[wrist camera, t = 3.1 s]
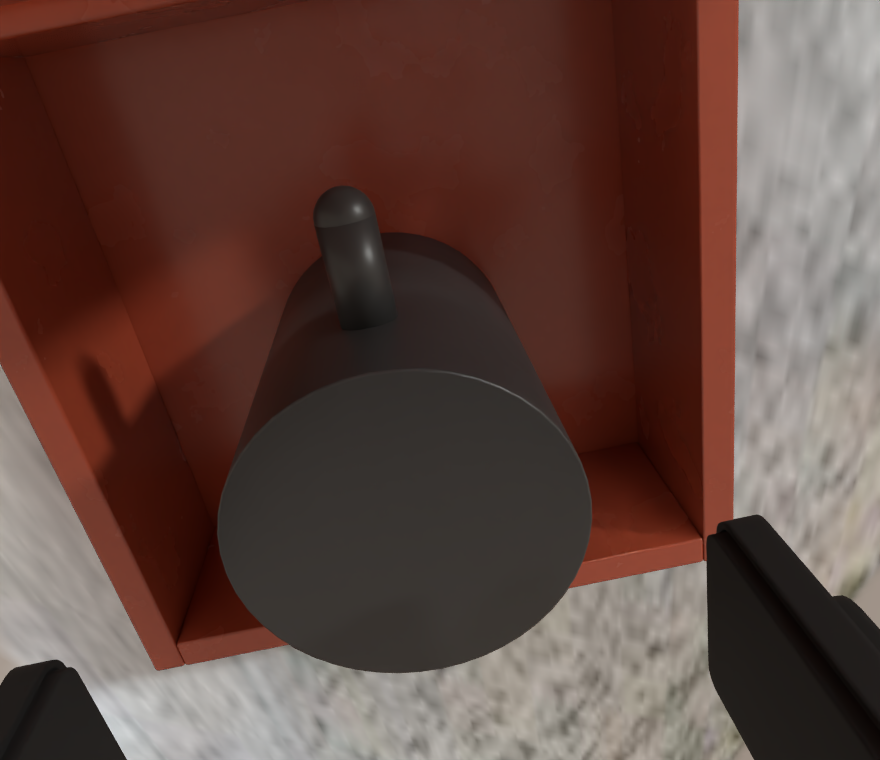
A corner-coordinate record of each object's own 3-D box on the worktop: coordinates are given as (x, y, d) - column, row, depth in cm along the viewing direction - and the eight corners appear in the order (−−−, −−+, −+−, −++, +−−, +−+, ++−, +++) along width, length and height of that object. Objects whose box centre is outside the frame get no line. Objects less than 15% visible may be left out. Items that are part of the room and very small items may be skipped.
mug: (519, 418, 22) (606, 637, 14) (313, 459, 22) (277, 702, 14) (474, 115, 18) (559, 171, 10) (222, 166, 18) (98, 264, 10)
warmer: (654, 444, 24) (733, 556, 18) (203, 534, 24) (155, 672, 18) (626, -100, 17) (741, -165, 12) (-7, 27, 17) (-178, 18, 12)
